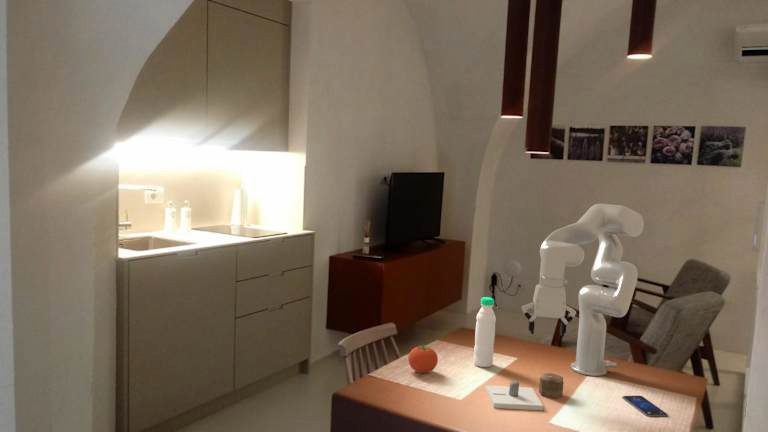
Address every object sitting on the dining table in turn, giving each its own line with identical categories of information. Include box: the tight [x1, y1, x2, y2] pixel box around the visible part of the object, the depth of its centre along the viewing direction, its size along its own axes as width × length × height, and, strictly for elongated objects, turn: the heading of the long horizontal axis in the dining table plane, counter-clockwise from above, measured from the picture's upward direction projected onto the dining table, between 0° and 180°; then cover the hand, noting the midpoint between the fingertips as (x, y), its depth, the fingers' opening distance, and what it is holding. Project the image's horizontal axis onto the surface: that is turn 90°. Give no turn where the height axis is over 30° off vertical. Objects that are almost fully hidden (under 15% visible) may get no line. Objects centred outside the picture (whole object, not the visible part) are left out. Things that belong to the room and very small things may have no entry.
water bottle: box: [472, 296, 497, 368], centre depth 216 cm, size 7×7×25 cm
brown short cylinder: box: [538, 372, 564, 400], centre depth 192 cm, size 7×7×6 cm
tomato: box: [408, 344, 439, 374], centre depth 206 cm, size 10×10×10 cm
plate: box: [485, 380, 544, 411], centre depth 186 cm, size 15×14×6 cm
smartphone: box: [621, 395, 669, 418], centre depth 187 cm, size 7×1×15 cm
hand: (546, 334), depth 193 cm, fingers open, 9 cm apart
